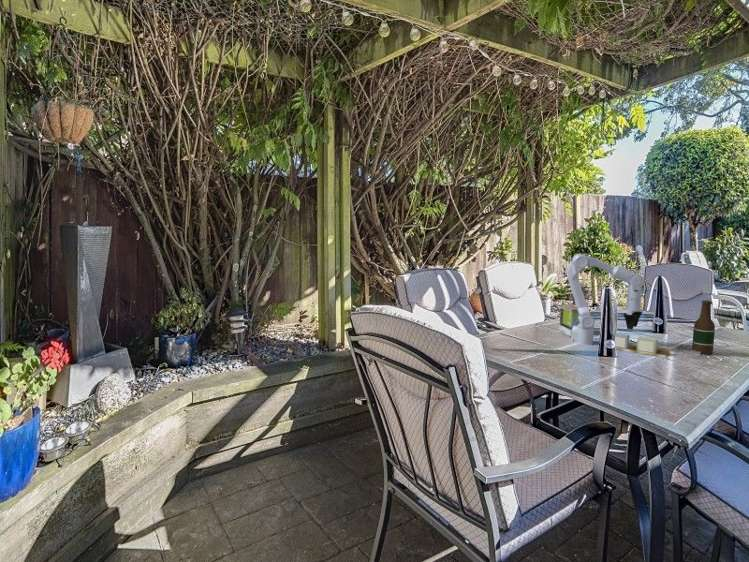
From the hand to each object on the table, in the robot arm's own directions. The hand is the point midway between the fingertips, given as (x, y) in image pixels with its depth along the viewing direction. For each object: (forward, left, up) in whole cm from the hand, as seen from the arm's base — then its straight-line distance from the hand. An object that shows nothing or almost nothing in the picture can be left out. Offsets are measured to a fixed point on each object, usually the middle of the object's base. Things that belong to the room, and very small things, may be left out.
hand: (631, 327), depth 210 cm
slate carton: (-3, -8, -9) cm, 12 cm away
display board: (+4, -3, -10) cm, 11 cm away
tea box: (-30, +13, -10) cm, 34 cm away
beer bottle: (+26, +14, -10) cm, 31 cm away
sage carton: (+8, -8, -9) cm, 14 cm away
